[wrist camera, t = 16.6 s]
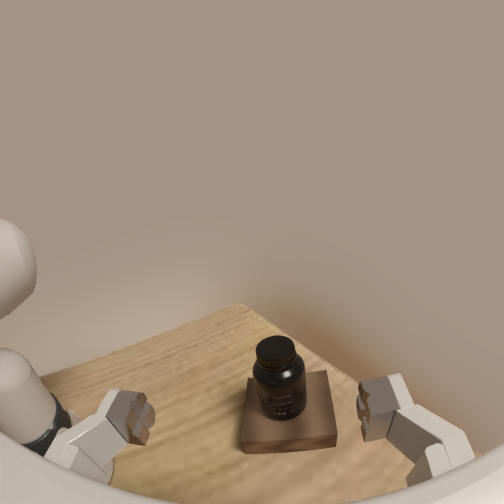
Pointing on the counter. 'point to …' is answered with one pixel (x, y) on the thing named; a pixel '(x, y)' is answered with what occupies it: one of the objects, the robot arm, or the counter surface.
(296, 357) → the supplement bottle
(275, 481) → the counter surface
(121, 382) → the counter surface
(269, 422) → the walnut stand
